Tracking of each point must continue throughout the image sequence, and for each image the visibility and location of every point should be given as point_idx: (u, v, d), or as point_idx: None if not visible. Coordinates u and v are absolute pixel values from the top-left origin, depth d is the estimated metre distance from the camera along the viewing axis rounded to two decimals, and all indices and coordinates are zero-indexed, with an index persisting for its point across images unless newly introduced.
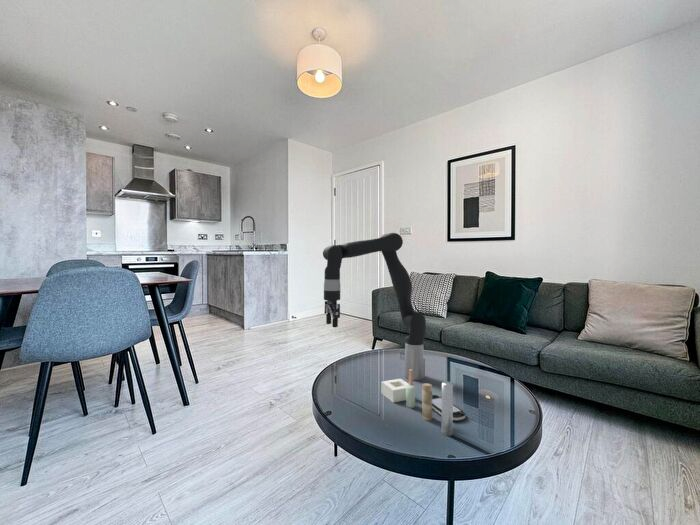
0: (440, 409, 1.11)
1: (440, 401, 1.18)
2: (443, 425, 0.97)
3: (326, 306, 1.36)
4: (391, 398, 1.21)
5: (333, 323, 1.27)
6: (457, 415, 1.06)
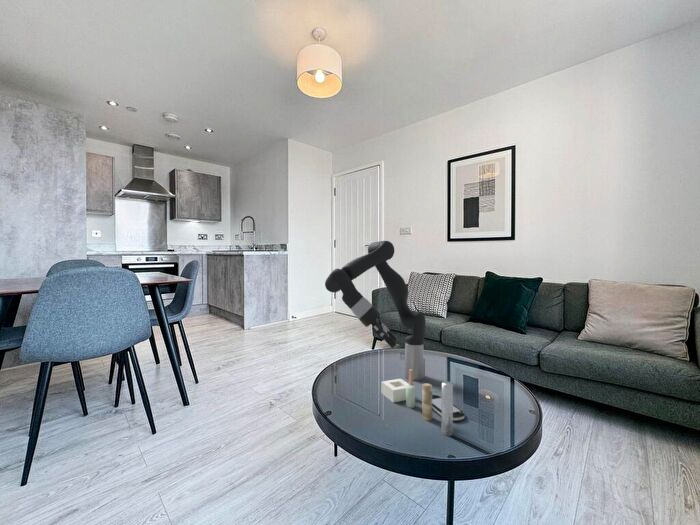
0: (439, 409, 1.11)
1: (440, 401, 1.18)
2: (443, 425, 0.97)
3: None
4: (391, 398, 1.21)
5: (389, 344, 1.06)
6: (456, 415, 1.06)
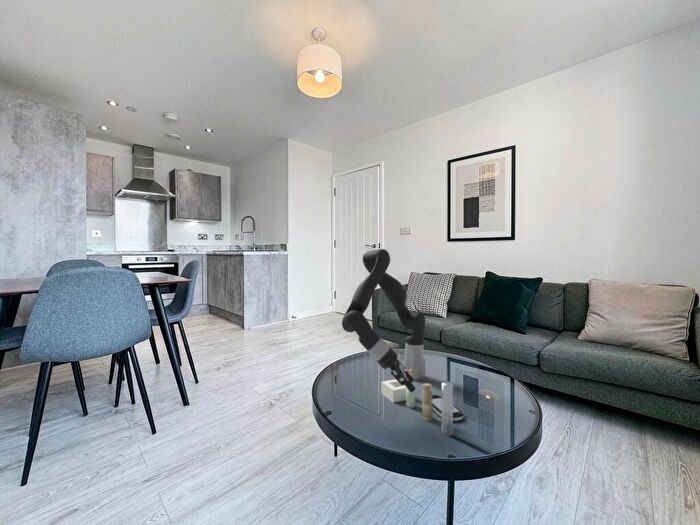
0: (438, 409, 1.11)
1: (440, 401, 1.18)
2: (443, 425, 0.97)
3: None
4: (391, 398, 1.21)
5: None
6: (454, 415, 1.06)
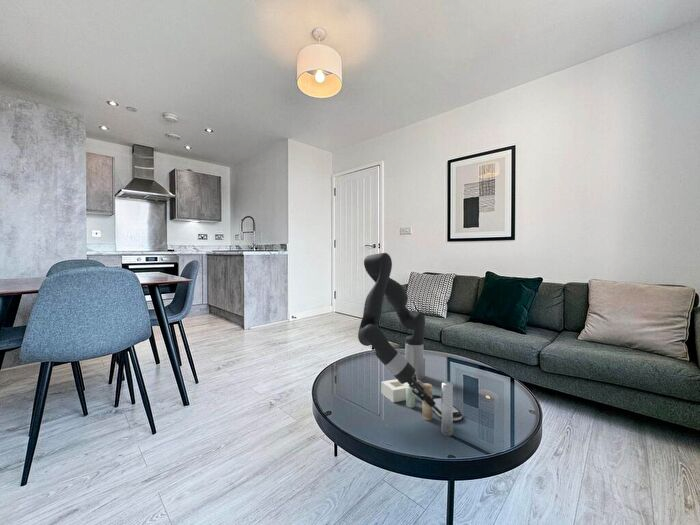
0: (437, 409, 1.11)
1: (440, 401, 1.18)
2: (443, 425, 0.97)
3: None
4: (391, 398, 1.21)
5: (428, 403, 1.05)
6: (453, 415, 1.06)
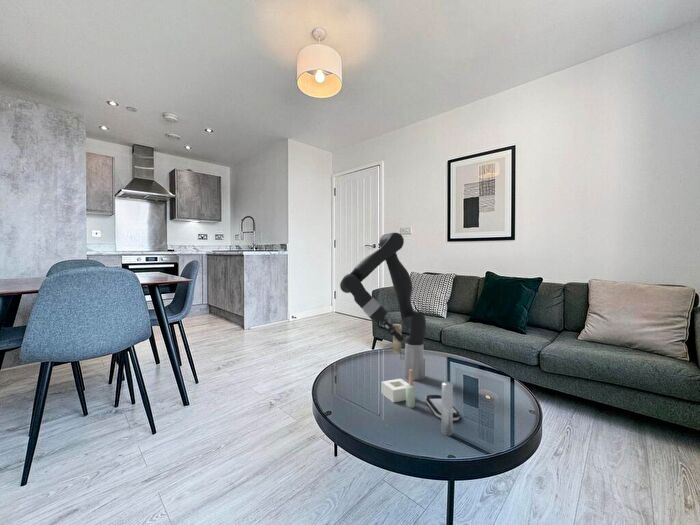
0: (436, 408, 1.11)
1: (441, 401, 1.17)
2: (443, 425, 0.97)
3: None
4: (391, 398, 1.21)
5: None
6: None
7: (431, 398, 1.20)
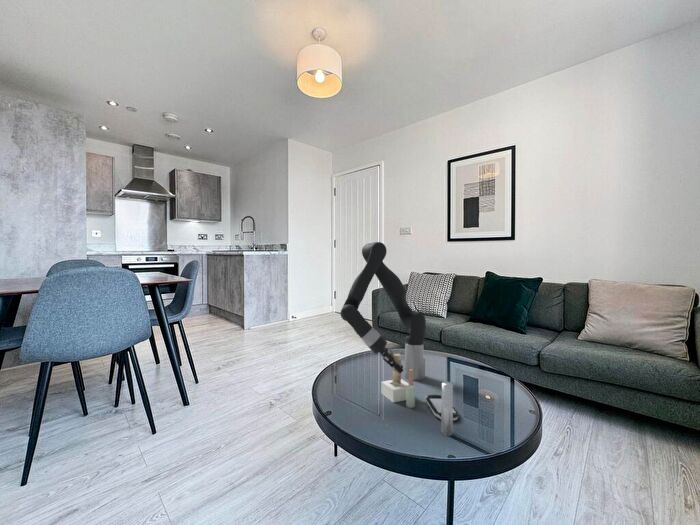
0: (435, 408, 1.12)
1: (441, 401, 1.17)
2: (443, 425, 0.97)
3: None
4: (391, 398, 1.21)
5: (397, 370, 1.24)
6: None
7: (431, 398, 1.20)
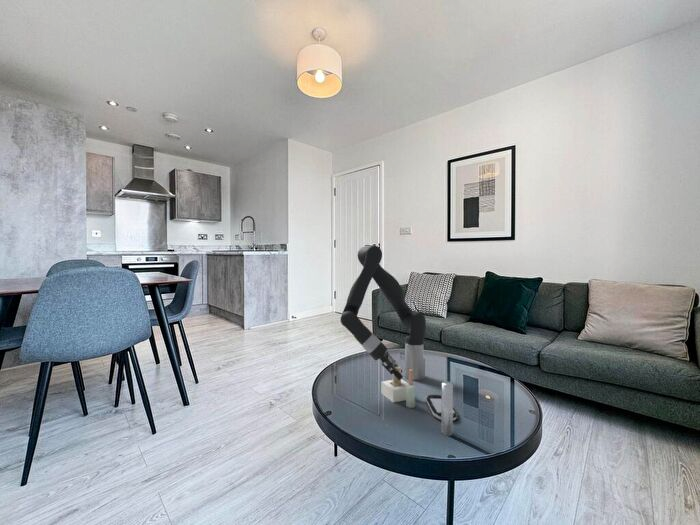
0: (434, 408, 1.12)
1: (441, 401, 1.17)
2: (443, 425, 0.97)
3: None
4: (391, 398, 1.21)
5: None
6: None
7: (432, 398, 1.21)
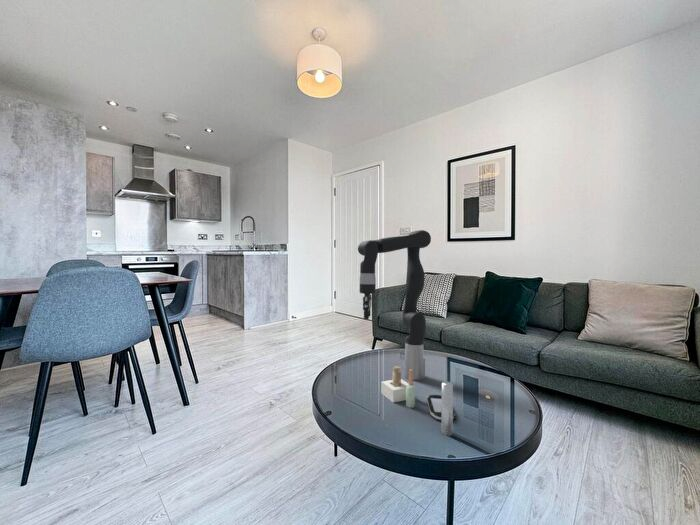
0: (432, 407, 1.12)
1: (441, 401, 1.17)
2: (443, 425, 0.97)
3: None
4: (391, 398, 1.21)
5: (364, 315, 1.32)
6: None
7: (433, 398, 1.21)
